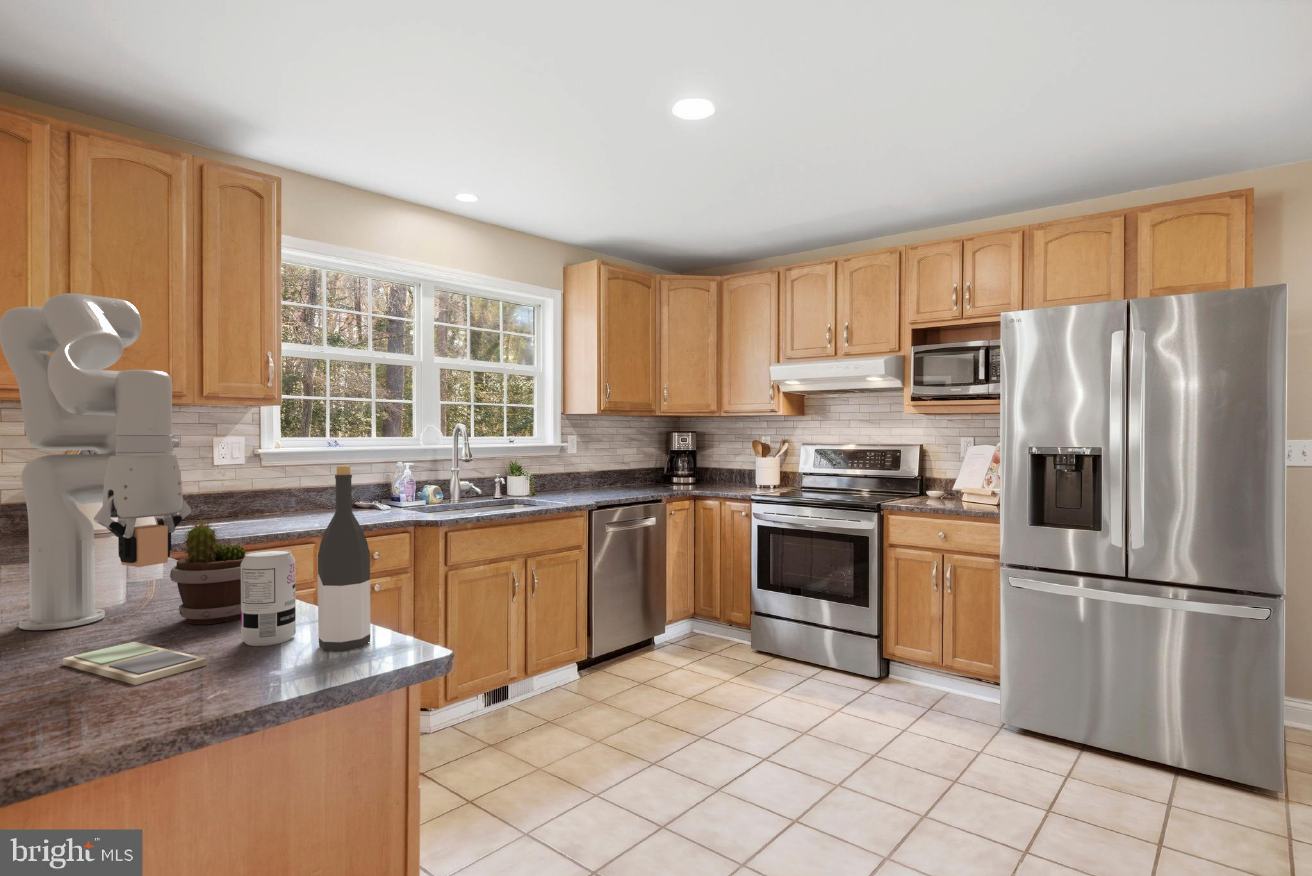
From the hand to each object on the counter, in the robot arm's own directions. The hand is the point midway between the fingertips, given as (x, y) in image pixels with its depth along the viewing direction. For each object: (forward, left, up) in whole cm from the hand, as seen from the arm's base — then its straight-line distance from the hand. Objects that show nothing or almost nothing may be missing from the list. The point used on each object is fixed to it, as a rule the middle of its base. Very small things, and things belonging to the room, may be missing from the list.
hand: (145, 558), depth 118 cm
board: (+5, -4, -15) cm, 17 cm away
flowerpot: (-12, +19, -16) cm, 27 cm away
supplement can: (+11, +14, -16) cm, 23 cm away
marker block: (0, 0, -1) cm, 1 cm away
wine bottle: (+25, +18, -16) cm, 34 cm away
